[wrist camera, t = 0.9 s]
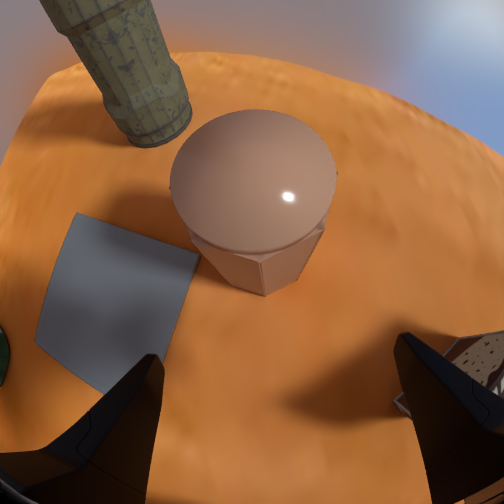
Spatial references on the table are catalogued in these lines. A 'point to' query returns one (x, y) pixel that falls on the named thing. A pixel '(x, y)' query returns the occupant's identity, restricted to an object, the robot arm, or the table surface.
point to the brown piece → (254, 196)
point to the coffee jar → (3, 356)
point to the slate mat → (112, 300)
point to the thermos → (127, 65)
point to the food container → (475, 362)
